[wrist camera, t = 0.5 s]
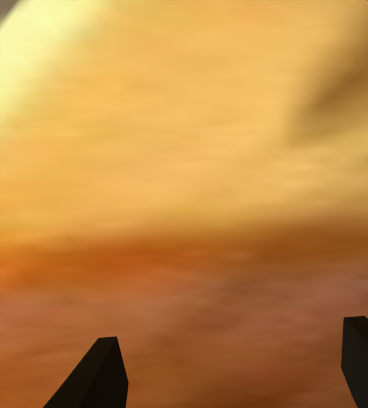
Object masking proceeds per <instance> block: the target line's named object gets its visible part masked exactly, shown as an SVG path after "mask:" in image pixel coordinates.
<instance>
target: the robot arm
mask: <svg viewBox="0 0 368 408" xmlns="http://www.w3.org/2000/svg"><path fill="white" fill-rule="evenodd" d="M341 369H342V371H343V374H344V376H345V379H346V382H347V384H348V387H349V389H350V391H351V394H352V396H353V399H354V401H355V403H356V405H357V407H358V408H368V318H366V317H365V316H357V317H345V318H344V322H343V342H342V361H341ZM128 384H129V383H128V379H127V375H126V371H125V367H124V363H123V359H122V355H121V351H120V347H119V343H118V339H117V336H116V337H104V338H98V339H97V340H96V342H95V343H94V344H93V346H92V347H91V348H90V349H89V351H88V352H87V353H86V355H85V356H84V357H83V358H82V360H81V361H80V362H79V364H78V365H77V366H76V368H75V369H74V370H73V371H72V373H71V374H70V375H69V376H68V378H67V379H66V380H65V381H64V383H63V384H62V385H61V386H60V388H59V389H58V390H57V391H56V393H55V394H54V395H53V396H52V397H51V399H50V400H49V401H48V402H47V403H46V405H45V406H44V407H43V408H126V401H127V392H128Z"/></svg>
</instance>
